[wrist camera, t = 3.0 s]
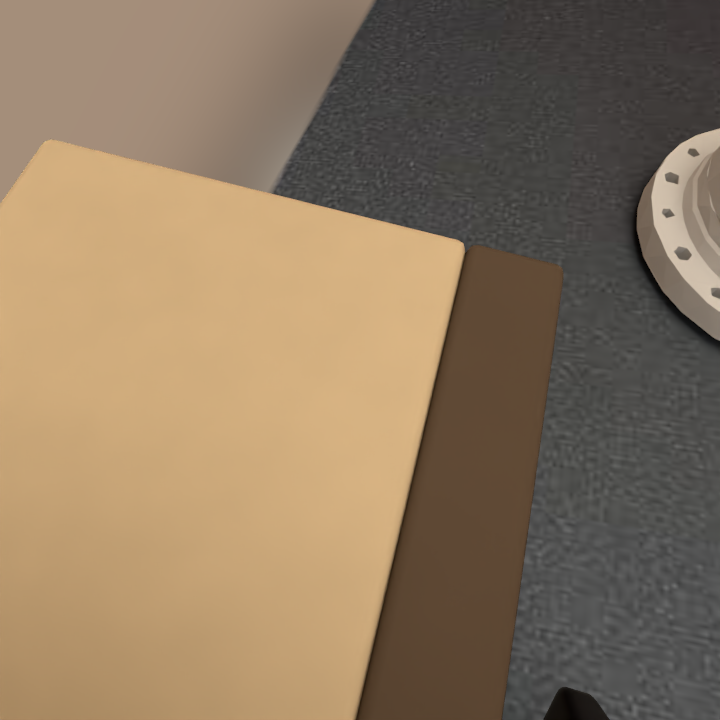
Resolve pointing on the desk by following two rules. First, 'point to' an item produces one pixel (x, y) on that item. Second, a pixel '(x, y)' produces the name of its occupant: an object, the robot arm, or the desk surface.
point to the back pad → (257, 453)
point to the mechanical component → (686, 229)
